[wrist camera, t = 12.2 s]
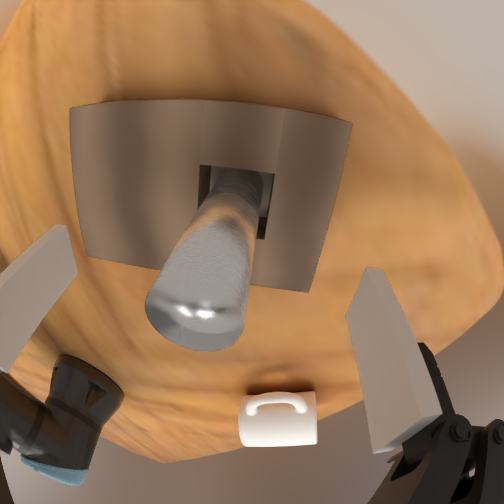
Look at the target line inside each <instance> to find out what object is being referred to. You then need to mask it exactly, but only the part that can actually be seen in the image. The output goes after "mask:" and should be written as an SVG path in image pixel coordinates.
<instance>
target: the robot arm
mask: <svg viewBox="0 0 504 504" xmlns="http://www.w3.org/2000/svg"><path fill="white" fill-rule="evenodd" d="M77 275H78V271H77V267H76V263H75V259H74V255H73V251H72V247H71V243H70V238H69V233H68V229H67V225H60V224H55V225H54V226H53V227H52V228H50V229H49V230H48V231H47V232H45V233H44V234H43V235H42V236H41V237H40V238H38V239H37V240H36V241H35V242H34V243H33V244H32V245H30V246H29V247H28V248H27V249H26V250H25V251H24V252H23V253H22V254H20V255H19V256H18V257H17V258H16V259H15V260H14V261H13V262H12V263H11V264H10V265H9V266H8V267H7V268H6V269H5V270H4V271H3V272H2V273H1V274H0V504H14V502H13V499H12V496H11V493H10V490H9V487H8V484H7V480H6V477H5V473H4V470H3V466H2V462H1V457H5V456H10V453H11V450H12V448H14V449H15V450H17V451H18V452H20V453H21V461H22V462H23V463H24V464H26V465H27V466H29V467H30V468H32V469H34V470H36V471H38V472H39V473H41V474H43V475H45V476H47V477H49V478H52V479H54V480H57V481H59V482H62V483H65V484H69V485H73V486H77V485H80V484H82V483H83V481H84V478H85V476H86V473H87V471H88V470H89V465H90V462H91V459H92V455H93V453H94V449H95V447H96V444H97V441H98V438H99V435H100V433H101V430H102V427H103V426H104V424H105V423H106V422H107V421H108V420H109V419H110V418H111V417H112V415H113V414H114V413H115V412H116V411H117V410H118V409H119V408H120V406H121V404H122V401H123V398H124V395H123V393H122V391H121V389H120V388H119V387H118V386H117V385H116V384H115V383H114V382H113V381H112V380H110V379H109V378H108V377H107V376H105V375H104V374H103V373H101V372H100V371H98V370H97V369H95V368H93V367H92V366H90V365H88V364H87V363H85V362H83V361H81V360H78V359H76V358H73V357H70V356H65V355H62V356H59V357H58V359H57V361H56V362H55V364H54V367H53V373H52V379H51V385H50V392H49V395H48V397H47V399H46V401H45V403H43V402H41V401H40V400H39V399H38V398H36V397H35V396H34V395H33V394H31V393H30V392H29V391H28V390H26V389H25V388H24V387H23V386H22V385H21V384H19V383H18V382H17V381H16V380H15V379H14V378H13V377H12V376H11V375H10V374H9V373H8V372H9V370H10V368H11V367H12V365H13V363H14V362H15V360H16V358H17V357H18V355H19V354H20V352H21V351H22V349H23V348H24V346H25V344H26V343H27V341H28V340H29V339H30V337H31V336H32V334H33V333H34V331H35V330H36V328H37V327H38V326H39V324H40V323H41V321H42V320H43V319H44V317H45V316H46V315H47V313H48V312H49V311H50V309H51V308H52V307H53V305H54V304H55V303H56V301H57V300H58V299H59V297H60V296H61V295H62V294H63V292H64V291H65V290H66V289H67V287H68V286H69V285H70V284H71V283H72V281H73V280H74V279H75V278H76V277H77ZM345 317H346V321H347V325H348V329H349V333H350V337H351V341H352V345H353V349H354V354H355V358H356V363H357V367H358V372H359V377H360V381H361V386H362V391H363V397H364V402H365V407H366V413H367V419H368V425H369V431H370V438H371V445H372V452H373V453H380V452H385V451H391V450H393V449H395V448H396V447H398V446H399V445H401V444H402V446H403V451H401V452H399V453H398V454H396V455H395V456H393V457H391V458H390V459H389V460H388V462H387V463H391V462H392V461H394V460H396V461H395V462H394V464H393V465H392V467H391V469H390V471H389V472H388V474H387V476H386V477H385V479H384V480H383V482H382V483H381V485H380V486H379V488H378V489H377V491H376V492H375V494H374V495H373V497H372V498H371V499H370V501H369V502H368V504H504V421H502V420H500V419H495V420H494V421H492V422H491V423H490V424H488V425H487V426H486V427H481V426H471V424H470V422H469V421H468V420H467V419H466V418H465V417H464V416H461V415H459V414H457V415H456V414H455V411H454V409H453V406H452V403H451V400H450V397H449V394H448V392H447V389H446V386H445V383H444V381H443V378H442V377H441V373H440V370H439V368H438V367H437V363H436V361H435V358H434V356H433V353H432V352H431V351H430V350H429V348H428V347H427V346H426V345H425V343H417V341H416V339H415V337H414V334H413V332H412V330H411V327H410V325H409V323H408V321H407V318H406V316H405V314H404V312H403V310H402V308H401V306H400V303H399V301H398V299H397V297H396V295H395V293H394V291H393V289H392V287H391V285H390V283H389V281H388V279H387V277H386V275H385V273H384V272H383V270H382V269H379V268H371V267H366V269H365V271H364V274H363V276H362V279H361V281H360V283H359V286H358V288H357V290H356V293H355V295H354V297H353V300H352V302H351V304H350V307H349V309H348V311H347V313H346V315H345ZM474 468H475V474H474V476H472V477H469V471H471V470H473V469H474Z"/></svg>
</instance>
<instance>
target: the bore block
mask: <svg viewBox="0 0 504 504" xmlns="http://www.w3.org/2000/svg"><path fill="white" fill-rule="evenodd" d="M351 128H352V123H350V122H347V121H345V120H342V119H339V118H335V117H331V116H327V115H322V114H317V113H312V112H307V111H302V110H296V109H291V108H285V107H278V106H271V105H264V104H256V103H247V102H236V101H224V100H208V99H138V100H123V101H111V102H101V103H95V104H89V105H83V106H78V107H73V108H70V146H71V161H72V172H73V182H74V190H75V197H76V204H77V210H78V217H79V222H80V228H81V233H82V238H83V242H84V247H85V252H86V256H88V257H93V258H98V259H103V260H108V261H113V262H118V263H124V264H129V265H134V266H140V267H145V268H151V269H156V270H162V268H163V267H164V265H165V263H166V261H167V260H168V258H169V256H170V255H171V253H172V251H173V250H174V248H175V246H176V245H177V243H178V241H179V240H180V238H181V236H182V235H183V233H184V231H185V230H186V228H187V227H188V225H189V223H190V222H191V220H192V219H193V217H194V215H195V214H196V212H197V211H198V209H199V208H200V206H201V205H202V203H203V201H204V200H205V198H206V197H207V195H208V194H209V192H210V191H211V189H212V188H213V186H214V185H215V183H216V182H217V180H218V179H219V177H220V176H221V174H222V173H223V172H224V171H225V170H226V169H227V168H228V167H229V168H237V169H245V170H253V171H258V172H259V173H260V175H261V177H262V179H263V185H264V186H263V194H262V201H261V208H260V215H259V222H258V229H257V236H256V243H255V250H254V256H253V263H252V270H251V277H250V284H249V285H255V286H262V287H270V288H277V289H284V290H292V291H299V292H307V293H309V290H310V287H311V283H312V280H313V277H314V274H315V271H316V267H317V264H318V261H319V257H320V254H321V250H322V247H323V243H324V240H325V236H326V233H327V229H328V226H329V222H330V218H331V214H332V211H333V207H334V203H335V199H336V195H337V191H338V187H339V183H340V179H341V174H342V170H343V166H344V161H345V157H346V152H347V148H348V143H349V138H350V133H351Z"/></svg>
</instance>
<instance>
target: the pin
mask: <svg viewBox="0 0 504 504" xmlns="http://www.w3.org/2000/svg"><path fill="white" fill-rule="evenodd" d="M263 186H264V185H263V179H262V177H261V175H260V173H259V172H258V171H253V170H245V169H237V168H229V167H228V168H227V169H226V170H225V171H224V172H223V173H222V174H221V176H220V177H219V179H218V180H217V182H216V183H215V185H214V186H213V188H212V189H211V191H210V192H209V194H208V195H207V197H206V198H205V200H204V201H203V203H202V205H201V206H200V208H199V209H198V211H197V212H196V214H195V215H194V217H193V219H192V220H191V222H190V223H189V225H188V227H187V228H186V230H185V231H184V233H183V235H182V236H181V238H180V240H179V241H178V243H177V245H176V246H175V248H174V250H173V251H172V253H171V255H170V256H169V258H168V260H167V261H166V263H165V265H164V267H163V268H162V270H161V272H160V273H159V275H158V277H157V279H156V281H155V282H154V284H153V286H152V288H151V289H150V291H149V293H148V295H147V297H146V301H145V311H146V314H147V317H148V319H149V321H150V323H151V324H152V326H153V327H154V328H155V329H156V330H157V331H158V332H159V333H160V334H161V335H162V336H163V337H165V338H166V339H168V340H169V341H171V342H173V343H175V344H177V345H179V346H181V347H184V348H187V349H191V350H196V351H217V350H221V349H224V348H227V347H229V346H231V345H232V344H234V343H235V342H236V341H237V340H238V339H239V337H240V336H241V334H242V330H243V325H244V318H245V311H246V304H247V298H248V291H249V284H250V277H251V270H252V263H253V256H254V250H255V243H256V236H257V229H258V222H259V215H260V208H261V201H262V194H263Z"/></svg>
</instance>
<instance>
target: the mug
mask: <svg viewBox="0 0 504 504" xmlns="http://www.w3.org/2000/svg"><path fill="white" fill-rule="evenodd" d="M238 426H239V435H240V439H241V442H242V444H243V445H244V446H250V447H251V446H253V447H268V446H269V447H271V446H297V445H308V444H309V445H310V444H316V443H317V418H316V398H315V392H314V391H309V392H298V393H290V392H269V393H264V394H260V395H245V396H244V397H243V398H242V400H241V403H240V408H239V416H238Z"/></svg>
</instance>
